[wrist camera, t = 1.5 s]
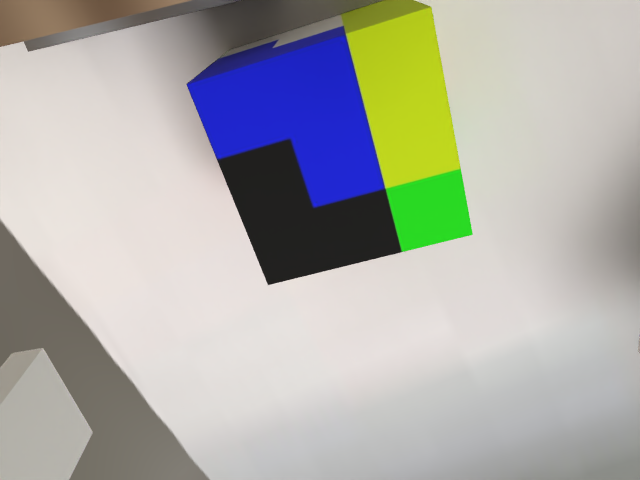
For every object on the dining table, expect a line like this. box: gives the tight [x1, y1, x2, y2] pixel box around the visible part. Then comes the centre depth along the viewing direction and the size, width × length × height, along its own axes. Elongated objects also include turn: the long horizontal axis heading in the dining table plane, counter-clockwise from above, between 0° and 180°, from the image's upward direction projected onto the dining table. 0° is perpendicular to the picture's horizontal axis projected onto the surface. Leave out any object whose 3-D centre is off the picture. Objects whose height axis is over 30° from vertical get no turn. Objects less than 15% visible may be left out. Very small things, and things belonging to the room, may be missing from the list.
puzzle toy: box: [187, 0, 473, 285], centre depth 27 cm, size 10×10×10 cm
